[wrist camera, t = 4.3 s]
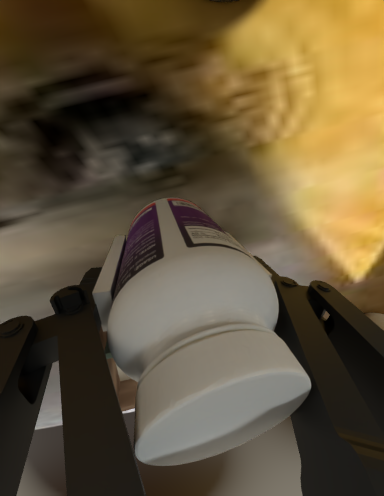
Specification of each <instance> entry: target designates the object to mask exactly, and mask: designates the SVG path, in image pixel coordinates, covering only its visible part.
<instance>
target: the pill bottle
mask: <svg viewBox="0 0 384 496" xmlns="http://www.w3.org/2000/svg"><path fill="white" fill-rule="evenodd" d="M278 312H279V303H278V297H277V293H276V290H275V287H274V285H273V282H272V280H271V279H270V277H269V276H268V274H267V273H266V272H265V271H264V269H263V268H262V267H261V266H260V265H259V264H258V263H257V262H256V261H255V260H254V259H253V258H251V257H250V256H249V255H248V254H247V253H246V252H245V251H244V250H243V249H242V248H241V247H240V246H239V245H238V244H237V243H236V242H235V241H234V240H233V239H232V238H231V237H230V236H228V235H227V234H226V233H225V232H224V231H223V230H222V229H221V228H220V227H219V226H218V225H217V224H216V223H215V222H214V221H213V220H212V219H211V218H210V217H209V216H208V215H207V214H206V213H205V212H204V211H203V210H202V209H201V208H199V207H198V206H197V205H195V204H194V203H192V202H190V201H188V200H185V199H181V198H163V199H159V200H156V201H153V202H151V203H149V204H148V205H146V206H145V207H144V208H143V209H141V210H140V211H139V212H138V214H137V215H136V216H135V218H134V219H133V222H132V224H131V226H130V229H129V233H128V238H127V242H126V246H125V251H124V255H123V259H122V264H121V268H120V272H119V277H118V281H117V285H116V289H115V293H114V298H113V302H112V305H111V310H110V315H109V319H108V326H107V339H108V346H109V349H110V352H111V355H112V357H113V359H114V361H115V363H116V364H117V366H118V367H119V368H120V369H121V370H122V371H123V372H124V373H125V374H126V375H127V376H129V377H130V378H131V379H133V380H135V381H136V382H138V384H137V392H136V397H135V428H134V453H135V455H136V457H137V458H138V459H139V460H140V461H142V462H143V463H146V464H149V465H160V466H167V465H179V464H184V463H189V462H193V461H197V460H202V459H205V458H207V457H211V456H214V455H217V454H220V453H223V452H225V451H227V450H230V449H232V448H235V447H237V446H239V445H242V444H244V443H246V442H248V441H249V440H252V439H253V438H255V437H257V436H259V435H261V434H263V433H265V432H266V431H268V430H269V429H271V428H273V427H274V426H276V425H277V424H279V423H280V422H281V421H283V420H284V419H286V418H287V417H288V416H290V415H291V414H292V413H293V412H294V411H295V410H296V409H297V408H298V407H299V406H300V405H301V404H302V403H303V401H304V400H305V399H306V398H307V396H308V395H309V392H310V390H311V382H310V379H309V377H308V375H307V373H306V372H305V370H304V369H303V368H302V366H301V365H300V363H299V362H298V361H297V359H296V358H295V356H294V355H293V353H292V352H291V351H290V349H289V348H288V346H287V345H286V343H285V342H284V341H283V340H282V339H281V338H280V337H278V335H277V334H276V333H275V332H274V330H275V327H276V324H277V320H278Z"/></svg>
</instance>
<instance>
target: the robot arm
mask: <svg viewBox="0 0 384 496" xmlns="http://www.w3.org/2000/svg"><path fill="white" fill-rule="evenodd" d="M210 1H216V2H232V1H237V0H210ZM225 233H226V234H227V235H228V236H230V237H231V238H232V239H233V240H234V241H235V242H236V243H237V244H238V245H239V246H240V247H241V248H242V249H243V250H244V251H245V252H246V253H247V254H248V255H249V256H250V257H251V258H253V259H254V260H255V261H256V262H257V263H258V264H259V265H260V266H261V267H262V268H263V269H264V271H265V272H266V273H267V274H268V276H269V277H270V279H271V280H272V282H273V285H274V287H275V290H276V293H277V297H278V303H279V312H278V320H277V324H276V327H275V330H274V332H275V333H276V334H277V335H278V337H280V338H281V339H282V340H283V341H284V342H285V343H286V345H287V346H288V348H289V349H290V351H291V352H292V353H293V355H294V356H295V358H296V359H297V361H298V362H299V363H300V365H301V366H302V368H303V369H304V370H305V372H306V373H307V375H308V377H309V379H310V382H311V390H310V392H309V395H308V396H307V398H306V399H305V400H304V401H303V403H302V404H301V405H300V406H299V407H298V408H297V409H296V410H295V411H294V412H293V413H292V414H291V415H290V416H291V420H292V424H293V428H294V433H295V437H296V441H297V445H298V449H299V453H300V458H301V489H302V494H303V496H384V330H382V329H381V328H380V327H379V326H378V325H377V324H375V323H374V322H373V321H372V320H371V319H370V318H368V317H367V316H366V315H365V314H364V313H363V312H361V311H360V310H359V309H358V308H357V307H356V306H354V305H353V304H352V303H351V302H350V301H349V300H348V299H346V298H345V297H344V296H343V295H342V294H341V293H339V292H338V291H337V290H336V289H335V288H334V287H332V286H331V285H329V284H327V283H325V282H322V281H316V280H315V281H312V282H311V283H310V285H309V286H300V285H298V284H297V282H295V281H294V280H292V279H290V278H287V277H280V276H279V275H278V274H277V273H276V272H275V271H274V270H272V269H271V268H270V267H269V266H268V265H267V264H265V262H264V261H263V260H262V259H260V258H258V257H256V256H252V255H251V254H250V253H249V252H248V251H247V250H246V249H245V248H244V247H243V246H242V245H241V244H239V243H238V242H237V241H236V240H235V239H234V238H233V237H232V236H231V235H230V234H229V233H228V232H225ZM125 246H126V235H119V236H115V238H114V240H113V243H112V245H111V248H110V250H109V253H108V255H107V258H106V260H105V263H104V265H103V267H99V268H91V269H90V270H89V271H87V272H86V273H85V275H84V277H83V280H82V281H81V283H80V285H73V286H68V287H65V288H63V289H61V290H59V291H57V292H56V293H55V294H54V295H53V296H52V297H51V300H50V303H51V305H52V307H53V309H54V311H55V314H54V315H52V316H49V317H46V318H43V319H40V320H37V321H34V320H33V319H32V318H31V317H29V316H19V317H16V318H12V319H10V320H8V321H6V322H4V323H2V324H0V496H16V494H17V491H18V487H19V484H20V480H21V476H22V473H23V469H24V465H25V462H26V458H27V455H28V451H29V447H30V444H31V440H32V436H33V432H34V429H35V425H36V422H37V418H38V414H39V411H40V407H41V403H42V400H43V396H44V392H45V389H46V385H47V381H48V378H49V374H50V370H51V367H52V363H53V362H56V361H58V360H59V371H60V388H61V404H62V421H63V438H64V453H65V470H66V488H67V496H146V494H145V490H144V487H143V483H142V480H141V477H140V473H139V469H138V466H137V463H136V459H135V455H134V452H133V448H132V445H131V441H130V438H129V435H128V431H127V428H126V424H125V421H124V417H123V414H122V410H121V407H120V403H119V400H118V396H117V393H116V389H115V386H114V382H113V379H112V376H111V372H110V369H109V365H108V362H107V358H106V355H105V351H104V348H103V344H102V341H101V337H100V334H99V332H100V328H101V326H102V329H103V332H104V331H107V326H108V319H109V315H110V310H111V305H112V302H113V298H114V293H115V289H116V285H117V281H118V277H119V272H120V268H121V264H122V259H123V255H124V251H125ZM326 311H327V312H328V313H329V314H330V316H329V318H328V319H327V320H326V319H325V318H324V317H323V315H324V313H325V312H326Z"/></svg>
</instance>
